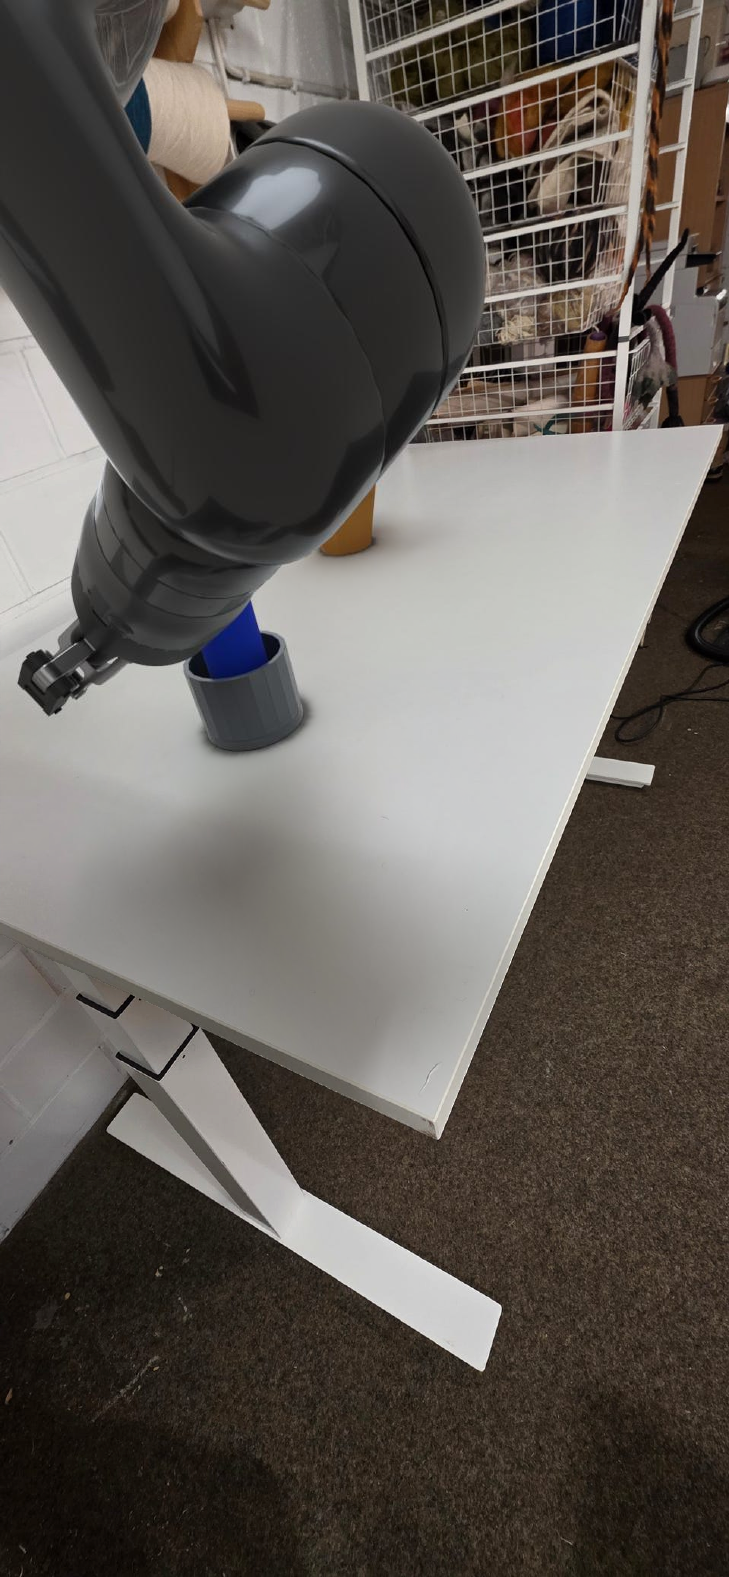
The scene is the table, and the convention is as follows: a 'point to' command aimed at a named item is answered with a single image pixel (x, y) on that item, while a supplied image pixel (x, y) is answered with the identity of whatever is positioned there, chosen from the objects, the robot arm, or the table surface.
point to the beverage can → (236, 647)
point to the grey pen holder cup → (248, 699)
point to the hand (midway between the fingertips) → (118, 646)
